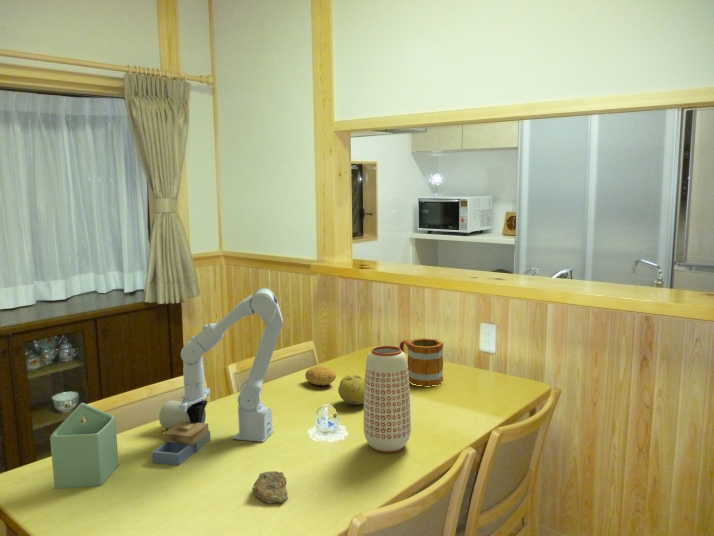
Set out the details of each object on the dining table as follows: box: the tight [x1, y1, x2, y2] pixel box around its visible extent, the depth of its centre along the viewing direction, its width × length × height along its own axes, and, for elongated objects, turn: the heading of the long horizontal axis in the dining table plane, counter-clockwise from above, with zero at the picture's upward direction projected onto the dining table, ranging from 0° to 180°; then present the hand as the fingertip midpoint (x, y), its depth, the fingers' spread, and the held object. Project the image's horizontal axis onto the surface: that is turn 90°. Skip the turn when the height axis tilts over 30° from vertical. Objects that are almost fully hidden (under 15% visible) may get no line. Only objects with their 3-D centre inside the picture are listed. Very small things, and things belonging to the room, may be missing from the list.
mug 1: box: [159, 400, 207, 430], centre depth 180 cm, size 12×8×11 cm
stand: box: [194, 430, 212, 453], centre depth 168 cm, size 10×8×3 cm
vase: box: [363, 345, 412, 454], centre depth 164 cm, size 13×13×28 cm
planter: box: [49, 402, 120, 490], centre depth 147 cm, size 16×8×20 cm, turn 138°
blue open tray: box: [151, 442, 196, 466], centre depth 160 cm, size 8×8×3 cm
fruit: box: [337, 373, 365, 405], centre depth 198 cm, size 11×12×10 cm
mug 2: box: [399, 338, 444, 386], centre depth 222 cm, size 20×14×15 cm
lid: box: [162, 421, 210, 445], centre depth 167 cm, size 9×9×3 cm
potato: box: [305, 365, 337, 387], centre depth 218 cm, size 9×13×7 cm
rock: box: [252, 470, 289, 504], centre depth 140 cm, size 9×6×10 cm
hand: (196, 426), depth 172 cm, fingers closed
